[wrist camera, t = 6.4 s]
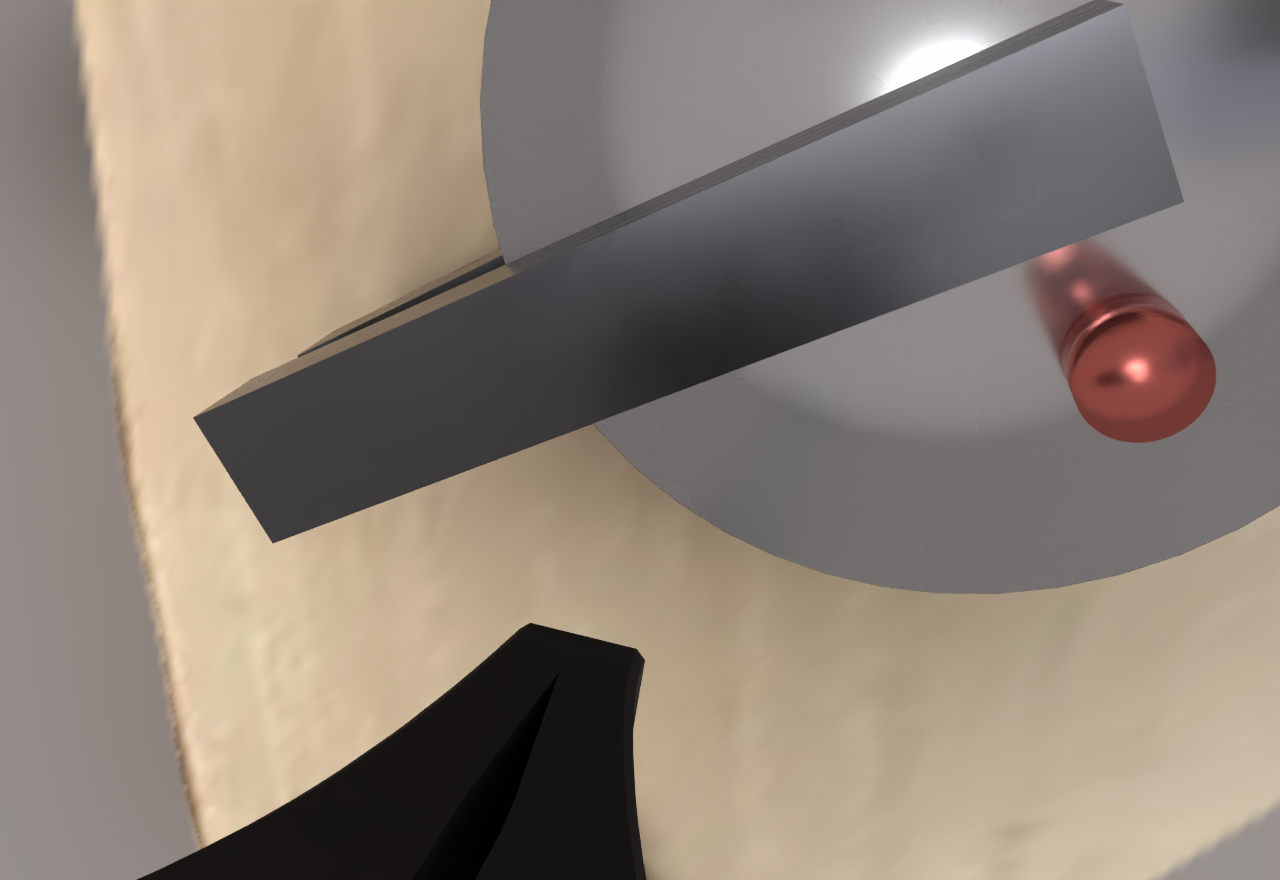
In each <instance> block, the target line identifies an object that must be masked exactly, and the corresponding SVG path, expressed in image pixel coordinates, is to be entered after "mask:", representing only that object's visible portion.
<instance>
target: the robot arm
mask: <svg viewBox="0 0 1280 880" xmlns="http://www.w3.org/2000/svg"><path fill="white" fill-rule="evenodd" d="M644 663H645V660H644V658H643V657H642V656H641V654H640V653H639V651H638V650H637V649H635V648H631V647H626V646H622V645H618V644H614V643H610V642H606V641H602V640H598V639H594V638H590V637H586V636H582V635H578V634H573V633H569V632H565V631H561V630H557V629H553V628H549V627H545V626H541V625H537V624H533V623H529V624H528V625H526V626H524V627H522V628H521V629H519V630H518V631H517V632H516V633H515V634H514V635H513V636H511V637H510V638H509V639H508V640H507V641H506V642H505V643H504V644H503V645H501V646H500V647H499V648H498V649H497V650H496V651H495V652H494V653H492V654H491V655H490V656H489V657H488V658H487V659H486V660H484V661H483V662H482V663H481V664H480V665H479V666H478V667H476V668H475V669H474V670H473V671H472V672H470V673H469V674H468V675H467V676H466V677H464V678H463V679H462V680H461V681H460V682H458V683H457V684H456V685H455V686H454V687H452V688H451V689H450V690H449V691H447V692H446V693H445V694H444V695H442V696H441V697H440V698H438V699H437V700H436V701H435V702H433V703H432V704H431V705H430V706H428V707H427V708H426V709H424V710H423V711H422V712H421V713H419V714H418V715H417V716H415V717H414V718H413V719H412V720H410V721H409V722H408V723H406V724H405V725H404V726H402V727H401V728H400V729H398V730H397V731H396V732H394V733H393V734H391V735H390V736H389V737H387V738H386V739H384V740H383V741H381V742H380V743H378V744H377V745H376V746H374V747H373V748H371V749H370V750H368V751H367V752H366V753H364V754H363V755H361V756H360V757H358V758H357V759H355V760H354V761H353V762H351V763H350V764H348V765H347V766H345V767H344V768H342V769H341V770H340V771H338V772H336V773H335V774H333V775H332V776H330V777H329V778H327V779H326V780H324V781H322V782H321V783H319V784H318V785H316V786H314V787H313V788H311V789H310V790H308V791H306V792H305V793H303V794H301V795H300V796H298V797H297V798H295V799H293V800H292V801H290V802H288V803H286V804H285V805H283V806H281V807H279V808H278V809H276V810H274V811H272V812H271V813H269V814H267V815H265V816H264V817H262V818H260V819H258V820H257V821H255V822H253V823H251V824H249V825H248V826H246V827H244V828H242V829H240V830H238V831H236V832H234V833H232V834H230V835H228V836H226V837H224V838H222V839H220V840H218V841H216V842H215V843H213V844H211V845H209V846H207V847H205V848H203V849H201V850H199V851H197V852H195V853H193V854H191V855H188V856H187V857H184V858H182V859H180V860H178V861H176V862H174V863H172V864H170V865H168V866H166V867H164V868H162V869H160V870H157V871H155V872H153V873H151V874H149V875H147V876H144V877H142V878H139V879H137V880H646V875H645V869H644V863H643V856H642V849H641V841H640V834H639V826H638V817H637V807H636V797H635V779H634V761H633V727H634V721H635V715H636V709H637V703H638V698H639V692H640V686H641V680H642V674H643V668H644Z"/></svg>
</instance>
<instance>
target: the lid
mask: <svg viewBox="0 0 1280 880" xmlns="http://www.w3.org/2000/svg"><path fill="white" fill-rule="evenodd" d="M480 110H481V129H482V148H483V166H484V172H485V178H486V183H487V189H488V195H489V200H490V206H491V212H492V218H493V223H494V228H495V231H496V234H497V238H498V241H499V244H500V248H501V251H502V254H503V258H504V261H505V264H506V265H504V266H501V267H499V268H497V269H495V270H492V271H490V272H488V273H486V274H484V275H481V276H479V277H477V278H475V279H472V280H470V281H468V282H466V283H464V284H461V285H459V286H457V287H455V288H452V289H450V290H448V291H446V292H444V293H441V294H439V295H437V296H435V297H432V298H430V299H428V300H426V301H424V302H421V303H419V304H417V305H415V306H412V307H410V308H408V309H406V310H403V311H401V312H399V313H397V314H395V315H392V316H390V317H388V318H386V319H383V320H381V321H379V322H377V323H375V324H372V325H370V326H368V327H366V328H363V329H361V330H359V331H357V332H355V333H352V334H350V335H348V336H346V337H343V338H341V339H339V340H337V341H335V342H332V343H330V344H328V345H326V346H323V347H321V348H319V349H317V350H315V351H312V352H310V353H308V354H306V355H303V356H301V357H299V358H297V359H295V360H292V361H290V362H288V363H286V364H283V365H281V366H279V367H277V368H275V369H272V370H270V371H268V372H266V373H263V374H261V375H259V376H257V377H255V378H252V379H251V380H249V381H248V382H246V383H245V384H243V385H242V386H240V387H239V388H237V389H236V390H234V391H233V392H231V393H230V394H228V395H227V396H225V397H224V398H222V399H221V400H219V401H218V402H216V403H215V404H213V405H212V406H210V407H209V408H207V409H205V410H204V411H202V412H201V413H199V414H198V415H196V416H195V417H193V418H194V420H195V421H196V423H197V425H198V426H199V428H200V429H201V431H202V432H203V434H204V436H205V437H206V439H207V440H208V442H209V444H210V445H211V447H212V448H213V450H214V451H215V453H216V455H217V456H218V458H219V459H220V461H221V462H222V464H223V466H224V467H225V469H226V470H227V472H228V474H229V475H230V477H231V478H232V480H233V481H234V483H235V485H236V486H237V488H238V489H239V491H240V492H241V494H242V496H243V497H244V499H245V500H246V502H247V504H248V505H249V507H250V508H251V510H252V511H253V513H254V515H255V516H256V518H257V519H258V521H259V522H260V524H261V526H262V527H263V529H264V530H265V532H266V534H267V535H268V537H269V538H270V540H271V541H272V543H275V542H278V541H281V540H283V539H286V538H289V537H291V536H294V535H297V534H299V533H302V532H305V531H307V530H310V529H313V528H315V527H318V526H321V525H323V524H326V523H329V522H331V521H334V520H337V519H339V518H342V517H345V516H347V515H350V514H353V513H355V512H358V511H361V510H363V509H366V508H369V507H371V506H374V505H377V504H379V503H382V502H385V501H387V500H390V499H393V498H395V497H398V496H401V495H403V494H406V493H409V492H411V491H414V490H417V489H419V488H422V487H425V486H427V485H430V484H433V483H435V482H438V481H441V480H443V479H446V478H449V477H451V476H454V475H457V474H459V473H462V472H465V471H467V470H470V469H473V468H475V467H478V466H481V465H483V464H486V463H489V462H491V461H494V460H497V459H499V458H502V457H505V456H508V455H510V454H513V453H516V452H518V451H521V450H524V449H526V448H529V447H532V446H534V445H537V444H540V443H542V442H545V441H548V440H550V439H553V438H556V437H558V436H561V435H564V434H566V433H569V432H572V431H574V430H577V429H580V428H582V427H585V426H588V425H590V424H594V425H595V427H596V428H597V429H598V430H599V431H600V432H601V433H602V434H603V435H604V436H605V437H606V438H607V439H608V440H609V441H610V442H611V443H612V444H613V445H614V446H615V447H616V449H617V450H618V451H619V452H620V453H621V454H622V455H623V456H624V457H625V458H626V459H627V460H628V461H629V462H630V463H631V464H632V465H633V466H634V467H635V468H636V469H637V470H639V471H640V472H641V473H642V474H644V475H645V476H646V477H647V478H649V479H650V480H651V481H652V482H653V483H655V484H656V485H657V486H658V487H660V488H661V489H662V490H663V491H665V492H666V493H667V494H668V495H669V496H671V497H672V498H673V499H674V500H676V501H677V502H678V503H680V504H681V505H683V506H685V507H686V508H688V509H689V510H691V511H692V512H694V513H696V514H697V515H699V516H700V517H702V518H704V519H705V520H707V521H708V522H710V523H711V524H713V525H715V526H716V527H718V528H719V529H721V530H722V531H724V532H726V533H728V534H730V535H732V536H734V537H736V538H739V539H741V540H743V541H745V542H747V543H749V544H751V545H753V546H755V547H757V548H759V549H761V550H763V551H765V552H768V553H770V554H772V555H774V556H777V557H779V558H782V559H785V560H788V561H791V562H794V563H797V564H799V565H802V566H805V567H808V568H811V569H814V570H817V571H819V572H822V573H825V574H829V575H833V576H838V577H842V578H846V579H851V580H855V581H859V582H864V583H868V584H872V585H877V586H881V587H890V588H898V589H907V590H915V591H924V592H933V593H976V594H999V593H1009V592H1019V591H1029V590H1039V589H1049V588H1059V587H1063V586H1068V585H1073V584H1078V583H1083V582H1087V581H1092V580H1097V579H1102V578H1107V577H1111V576H1116V575H1120V574H1123V573H1126V572H1129V571H1133V570H1136V569H1139V568H1142V567H1145V566H1148V565H1151V564H1154V563H1157V562H1161V561H1164V560H1167V559H1170V558H1173V557H1176V556H1179V555H1182V554H1184V553H1186V552H1188V551H1191V550H1193V549H1195V548H1197V547H1200V546H1202V545H1204V544H1206V543H1209V542H1211V541H1213V540H1215V539H1218V538H1220V537H1222V536H1224V535H1227V534H1229V533H1231V532H1233V531H1236V530H1238V529H1240V528H1242V527H1244V526H1245V525H1247V524H1249V523H1250V522H1252V521H1254V520H1256V519H1257V518H1259V517H1261V516H1263V515H1264V514H1266V513H1268V512H1269V511H1271V510H1273V509H1275V508H1276V507H1278V506H1280V0H492V1H491V6H490V11H489V16H488V22H487V27H486V32H485V38H484V53H483V67H482V82H481V97H480Z"/></svg>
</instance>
